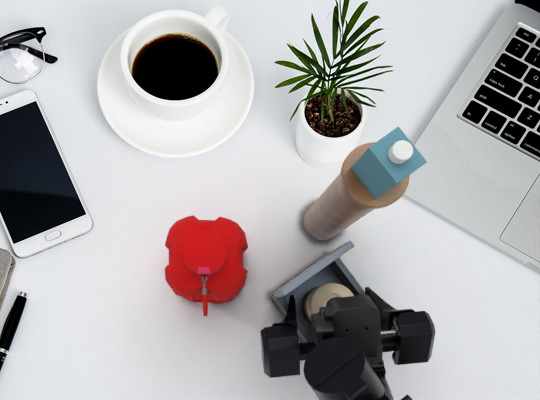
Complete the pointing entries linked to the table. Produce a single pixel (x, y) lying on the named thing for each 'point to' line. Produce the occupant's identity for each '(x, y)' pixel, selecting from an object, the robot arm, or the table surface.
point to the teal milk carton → (387, 162)
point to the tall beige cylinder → (347, 200)
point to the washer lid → (313, 269)
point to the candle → (322, 297)
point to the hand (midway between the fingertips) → (328, 293)
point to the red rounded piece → (206, 260)
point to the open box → (328, 275)
